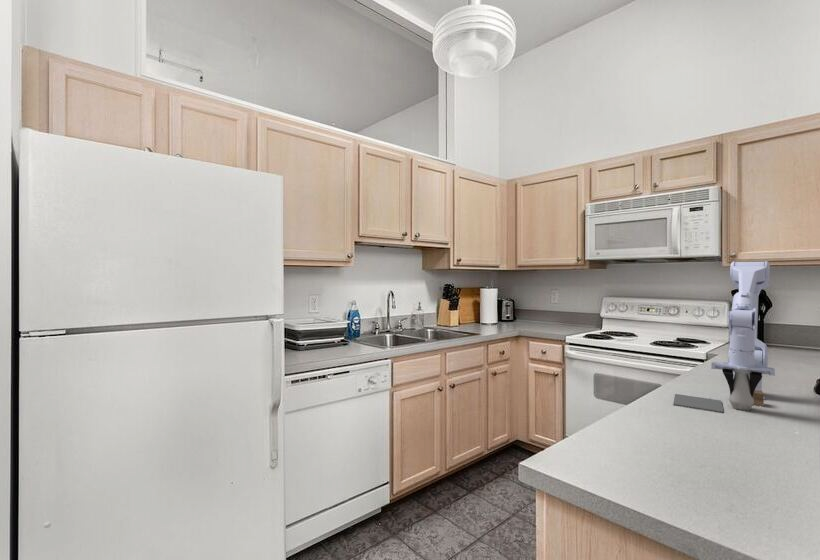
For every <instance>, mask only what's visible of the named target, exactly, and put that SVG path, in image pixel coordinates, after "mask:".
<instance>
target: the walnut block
mask: <svg viewBox="0 0 820 560" xmlns="http://www.w3.org/2000/svg"><path fill="white" fill-rule="evenodd" d="M764 395H765V394H764V392H763V391H759V390H755V391H754V394H753V399H754V404H753V405H752V406H754V405H755V407H760V406H761V407H763V408H764V400H765V399H764V398H765V396H764Z"/></svg>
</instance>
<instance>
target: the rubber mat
mask: <svg viewBox="0 0 820 560" xmlns="http://www.w3.org/2000/svg"><path fill="white" fill-rule="evenodd" d="M672 406H677V407H682V406H683V407H684V408H688V407H689V408H688V409H696V410H702V411H708V412H713V413H721V414H724V407H723V403H722V400H721V399H715V398H707V397H700V396H693V395H686V394H678V393H675V394H674V399H673V404H672Z"/></svg>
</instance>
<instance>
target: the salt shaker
mask: <svg viewBox="0 0 820 560" xmlns="http://www.w3.org/2000/svg"><path fill="white" fill-rule="evenodd" d="M734 372H735V375H734V376H733V392H732V394H730V393H729V394H728V395H729V396H728V400H729V401H728V402H729V403H730V405H731V406H732V408H733V409H734V410H738V409H739V411H746V410H747V412H749V411H750V410H751V409H752V407H753V406H754V405H753V404H754V399H753V398H752V396H751V394H750V380H749V375H748V374H749V373H751V370H740V369H734V368H733V373H734Z"/></svg>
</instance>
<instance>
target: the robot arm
mask: <svg viewBox="0 0 820 560" xmlns="http://www.w3.org/2000/svg"><path fill="white" fill-rule="evenodd" d="M770 266H771V265H770V262H769V261H768V260H764V261H732V262H731V263H730V267H729V269H730V270H729V273H730V280H731V283H732V286H733V288H736V289H738V292H736V293H735V294H734V295H733V297H732V305H731V310H729V311H728V313H727V325H728V326H727V327H728V334H729V348H728V354H727V356H728V359H727V360H728V362H725V361H723V362H722V361H711V362H710V369H711V370H722V374H723V376H724V377H725V379H726V381H727V385H728V388H729V395H730V394H732V392H733V379H734V375H735V372H734V371H733V368H734V369H740V370H751V373H749V374H748V375H749V380H750V394H751V396H752V398H753V394H754V391H755V390H759V391H762V390H763V375H767V376H768V375H769V376H774V377H775V375H776V373H775V372H776V369H775V368H774V367H771V366H770V367H768V363H769V352H768V346H767V344H766V343H764V342H763V341H762V340H760V339H758V321H759V320H758V318H759V317H758V315H759V295H760V293H761V291H762V290H763V289H766V288H768V287H769V284H770V277H771V276H770V271H771V267H770ZM762 392H763V391H762ZM765 398H766V397H764V400H765Z"/></svg>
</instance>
